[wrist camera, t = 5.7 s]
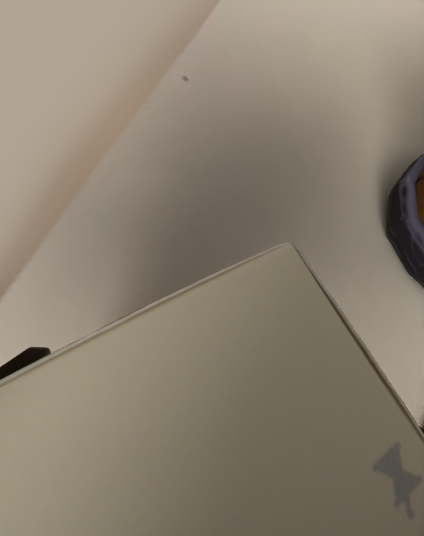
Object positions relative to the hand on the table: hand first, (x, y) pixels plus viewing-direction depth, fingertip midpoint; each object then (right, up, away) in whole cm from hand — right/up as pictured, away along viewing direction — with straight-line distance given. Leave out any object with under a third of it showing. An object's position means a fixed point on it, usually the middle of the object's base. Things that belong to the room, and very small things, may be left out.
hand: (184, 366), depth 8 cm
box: (-2, -4, +6) cm, 7 cm away
